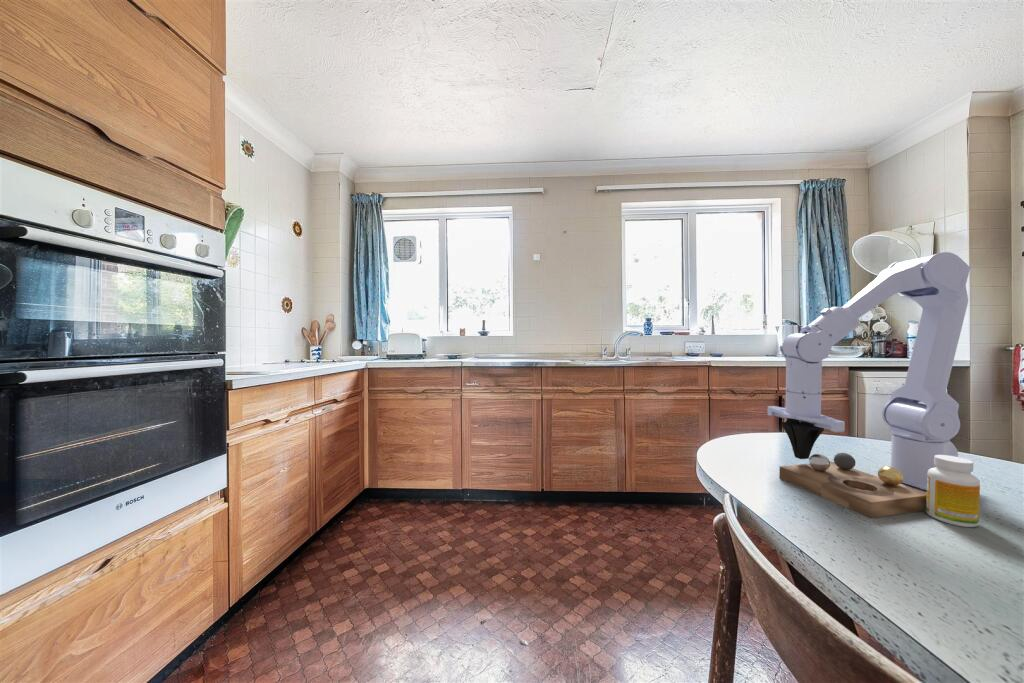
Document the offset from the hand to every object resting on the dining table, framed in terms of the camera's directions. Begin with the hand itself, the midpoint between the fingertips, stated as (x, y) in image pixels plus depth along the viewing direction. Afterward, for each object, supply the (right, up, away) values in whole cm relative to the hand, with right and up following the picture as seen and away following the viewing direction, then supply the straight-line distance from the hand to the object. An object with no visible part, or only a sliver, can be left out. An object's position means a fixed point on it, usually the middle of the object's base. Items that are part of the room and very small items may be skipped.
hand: (801, 457), depth 76 cm
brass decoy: (+8, 0, -10) cm, 13 cm away
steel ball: (+1, 0, -4) cm, 4 cm away
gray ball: (+6, 0, -3) cm, 7 cm away
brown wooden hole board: (+3, -4, -8) cm, 9 cm away
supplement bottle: (+10, -5, -17) cm, 21 cm away
